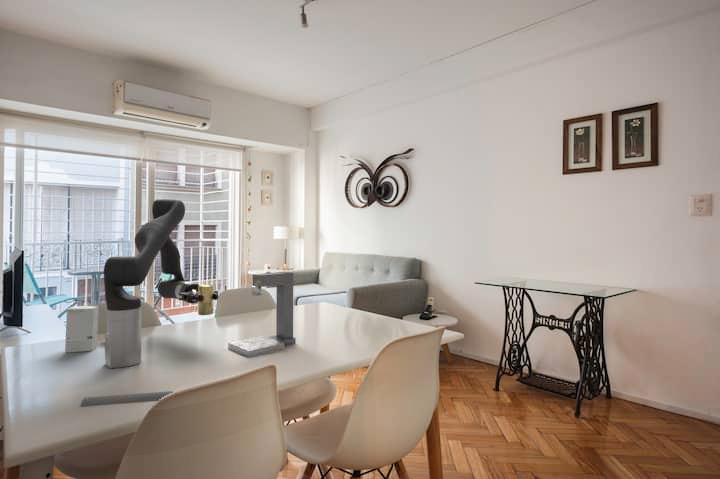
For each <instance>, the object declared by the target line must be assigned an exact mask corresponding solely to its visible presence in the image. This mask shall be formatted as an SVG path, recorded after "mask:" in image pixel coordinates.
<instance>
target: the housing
mask: <svg viewBox="0 0 720 479" xmlns="http://www.w3.org/2000/svg"><path fill="white" fill-rule="evenodd" d="M199 285H200V286H198V294H199V295H202V302H199V301H198V302H197V307H198V308H197V311H198V312H197V314H198V315H199V316H209V315H210V316H211V315H214V300H213V289H214V285H213V284H199Z"/></svg>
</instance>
